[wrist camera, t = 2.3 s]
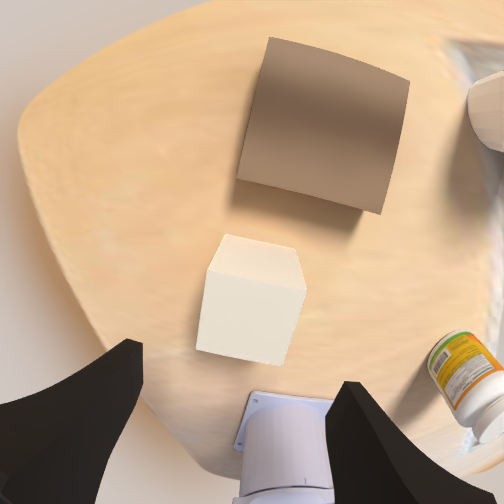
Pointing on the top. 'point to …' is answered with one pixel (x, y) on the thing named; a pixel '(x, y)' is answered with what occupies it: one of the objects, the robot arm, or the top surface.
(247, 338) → the cream block
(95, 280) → the top surface
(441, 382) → the supplement bottle
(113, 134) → the top surface
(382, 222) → the top surface
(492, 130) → the white cup
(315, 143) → the walnut block
